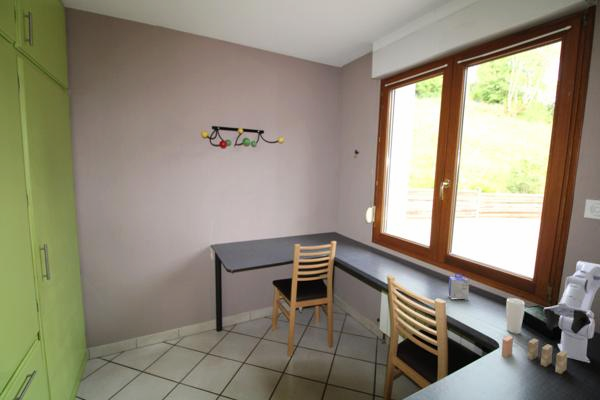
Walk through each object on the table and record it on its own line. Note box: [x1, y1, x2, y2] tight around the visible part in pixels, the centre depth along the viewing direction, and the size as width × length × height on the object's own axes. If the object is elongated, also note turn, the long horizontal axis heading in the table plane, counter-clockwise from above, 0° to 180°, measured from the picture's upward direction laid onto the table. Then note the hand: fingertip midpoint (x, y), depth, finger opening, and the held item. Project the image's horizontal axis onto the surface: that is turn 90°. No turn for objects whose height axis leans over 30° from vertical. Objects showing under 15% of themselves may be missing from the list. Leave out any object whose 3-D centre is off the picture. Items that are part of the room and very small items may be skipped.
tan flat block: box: [540, 343, 553, 368], centre depth 112 cm, size 2×5×7 cm, turn 119°
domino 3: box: [554, 350, 568, 375], centre depth 108 cm, size 2×5×7 cm, turn 119°
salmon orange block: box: [501, 335, 514, 358], centre depth 117 cm, size 2×5×7 cm, turn 119°
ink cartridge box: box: [448, 273, 470, 301], centre depth 169 cm, size 10×6×14 cm, turn 78°
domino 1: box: [526, 338, 540, 361], centre depth 116 cm, size 2×5×7 cm, turn 119°
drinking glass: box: [505, 297, 525, 335], centre depth 134 cm, size 7×7×15 cm
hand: (561, 329), depth 102 cm, fingers open, 7 cm apart
